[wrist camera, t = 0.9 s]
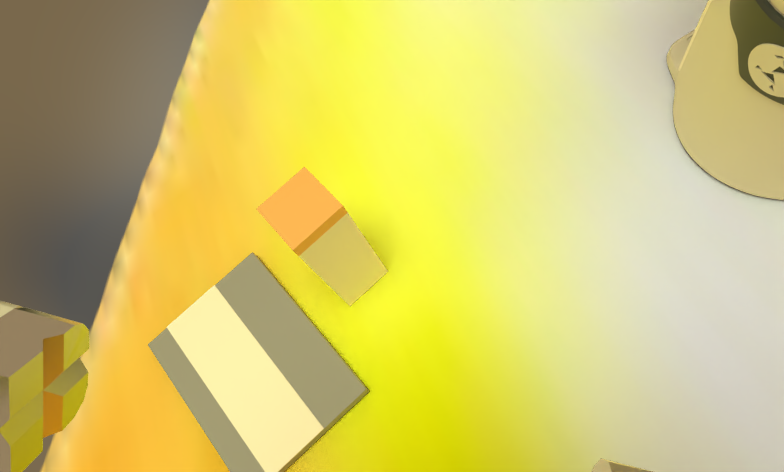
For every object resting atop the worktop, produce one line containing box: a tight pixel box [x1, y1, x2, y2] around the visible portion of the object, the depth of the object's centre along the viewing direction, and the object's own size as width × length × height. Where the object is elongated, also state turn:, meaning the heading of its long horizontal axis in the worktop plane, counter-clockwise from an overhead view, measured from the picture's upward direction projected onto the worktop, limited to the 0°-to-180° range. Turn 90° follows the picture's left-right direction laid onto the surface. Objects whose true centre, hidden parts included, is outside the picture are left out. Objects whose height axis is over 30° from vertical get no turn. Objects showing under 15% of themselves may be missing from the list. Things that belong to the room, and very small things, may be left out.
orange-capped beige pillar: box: [257, 167, 388, 306], centre depth 42 cm, size 4×4×12 cm
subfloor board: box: [148, 252, 369, 472], centre depth 45 cm, size 11×15×1 cm
